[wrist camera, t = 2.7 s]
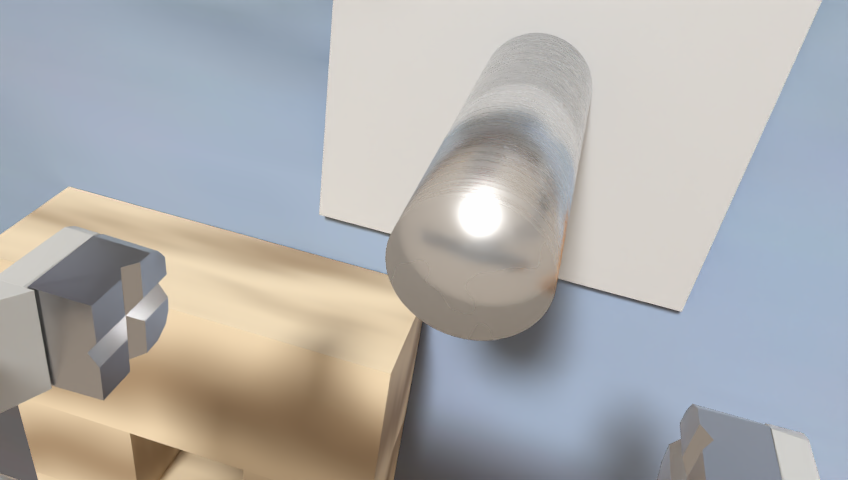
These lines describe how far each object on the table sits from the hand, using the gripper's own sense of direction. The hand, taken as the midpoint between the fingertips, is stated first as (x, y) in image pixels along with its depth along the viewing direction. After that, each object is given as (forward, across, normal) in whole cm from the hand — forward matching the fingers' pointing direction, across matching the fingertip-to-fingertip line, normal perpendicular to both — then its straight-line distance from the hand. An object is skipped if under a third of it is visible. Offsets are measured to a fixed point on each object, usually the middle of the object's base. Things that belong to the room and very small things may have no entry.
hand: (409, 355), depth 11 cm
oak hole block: (+12, +8, +16) cm, 22 cm away
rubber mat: (+12, 0, -1) cm, 12 cm away
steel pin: (+11, 0, -1) cm, 11 cm away
